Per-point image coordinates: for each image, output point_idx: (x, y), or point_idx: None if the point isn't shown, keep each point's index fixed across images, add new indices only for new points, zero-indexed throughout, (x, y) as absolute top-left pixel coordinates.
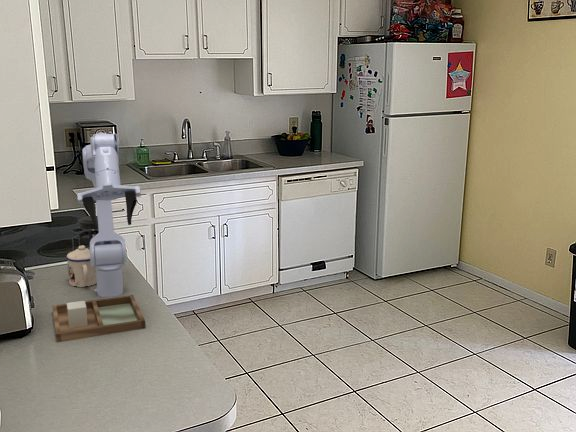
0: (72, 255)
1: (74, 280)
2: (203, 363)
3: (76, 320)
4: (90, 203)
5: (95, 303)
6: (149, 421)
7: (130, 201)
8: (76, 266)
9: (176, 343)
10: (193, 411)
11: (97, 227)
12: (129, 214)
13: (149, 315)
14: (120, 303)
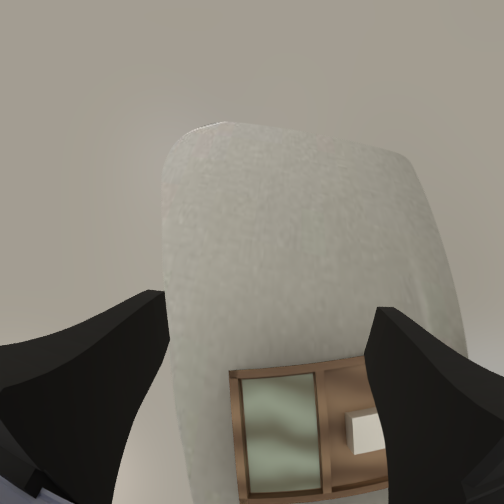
0: None
1: None
2: (167, 232)
3: (368, 410)
4: (488, 392)
5: (325, 483)
6: (260, 132)
7: (43, 343)
8: None
9: (188, 307)
10: (212, 140)
11: (367, 352)
12: (126, 300)
13: (217, 441)
14: (270, 493)
